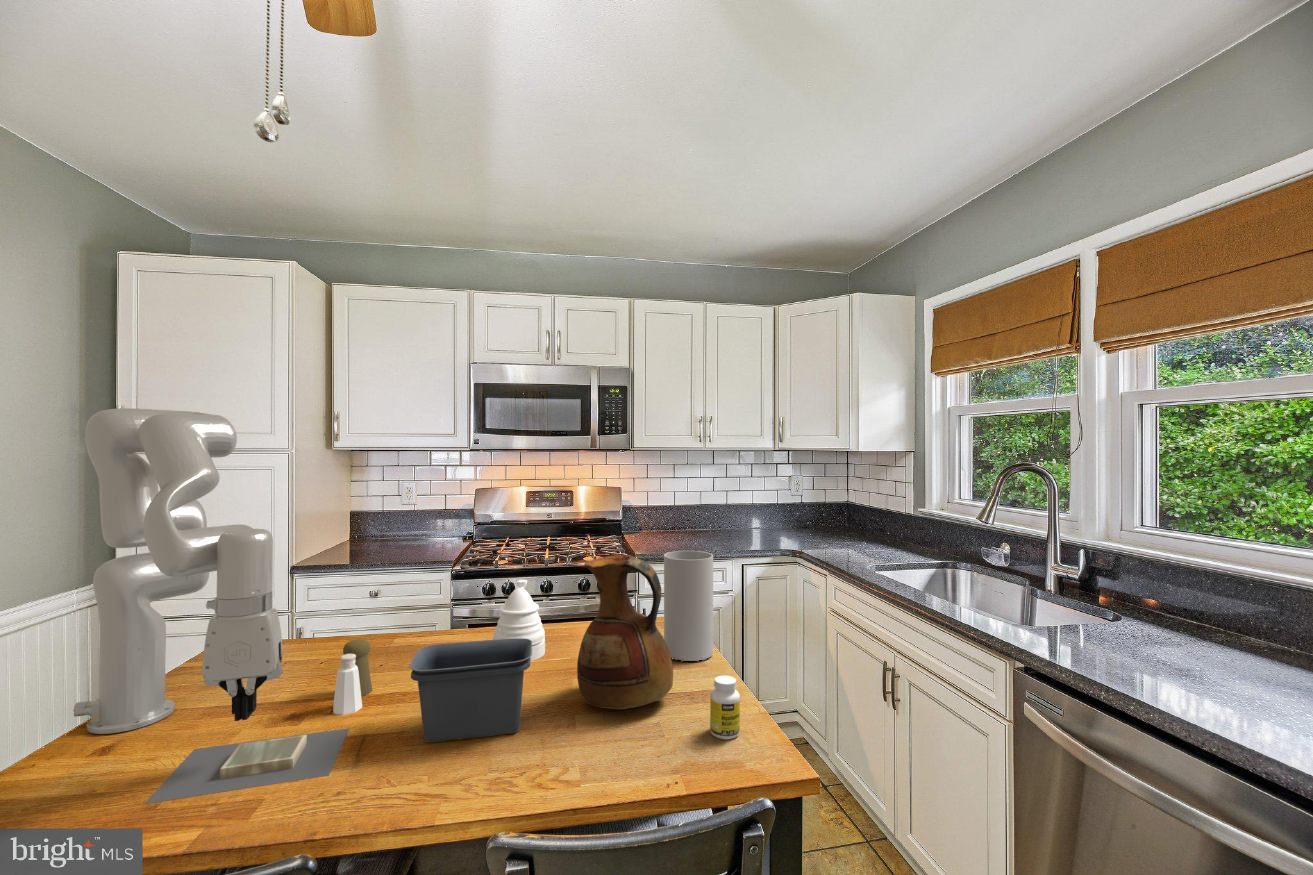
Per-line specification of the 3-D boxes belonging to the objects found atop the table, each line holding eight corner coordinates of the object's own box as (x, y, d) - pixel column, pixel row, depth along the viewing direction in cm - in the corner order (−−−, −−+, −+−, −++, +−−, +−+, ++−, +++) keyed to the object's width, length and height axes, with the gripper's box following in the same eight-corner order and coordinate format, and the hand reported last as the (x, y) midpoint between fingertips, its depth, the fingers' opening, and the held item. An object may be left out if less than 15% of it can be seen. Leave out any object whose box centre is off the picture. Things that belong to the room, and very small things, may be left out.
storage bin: (404, 753, 98) (405, 670, 99) (422, 712, 113) (422, 640, 114) (531, 740, 103) (531, 660, 103) (532, 702, 118) (532, 632, 118)
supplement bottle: (721, 743, 102) (720, 687, 102) (704, 729, 106) (704, 676, 107) (745, 736, 104) (745, 681, 104) (728, 723, 109) (728, 671, 109)
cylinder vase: (688, 641, 154) (688, 548, 155) (723, 654, 145) (723, 555, 146) (653, 653, 146) (653, 554, 146) (689, 667, 137) (688, 562, 137)
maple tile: (220, 768, 90) (293, 758, 93) (239, 743, 98) (306, 734, 101) (219, 779, 90) (292, 768, 93) (239, 753, 97) (306, 743, 101)
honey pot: (505, 643, 153) (505, 576, 153) (551, 646, 151) (551, 577, 151) (484, 661, 140) (484, 588, 141) (534, 664, 138) (534, 589, 139)
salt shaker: (341, 719, 110) (342, 662, 111) (326, 713, 113) (326, 657, 113) (368, 708, 115) (368, 653, 115) (353, 702, 118) (353, 648, 118)
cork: (358, 699, 119) (359, 646, 119) (333, 697, 120) (334, 644, 121) (378, 687, 125) (378, 637, 125) (354, 685, 126) (354, 635, 126)
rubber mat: (143, 807, 84) (143, 804, 84) (194, 751, 99) (194, 748, 99) (328, 778, 91) (328, 775, 91) (349, 730, 106) (349, 728, 106)
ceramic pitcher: (593, 677, 131) (593, 545, 131) (680, 684, 127) (680, 549, 127) (562, 716, 112) (562, 562, 112) (663, 727, 107) (663, 567, 108)
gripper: (179, 615, 89) (178, 734, 88) (289, 607, 93) (289, 720, 93) (201, 603, 96) (200, 713, 96) (303, 595, 100) (302, 701, 100)
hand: (244, 716), depth 94 cm, fingers closed
